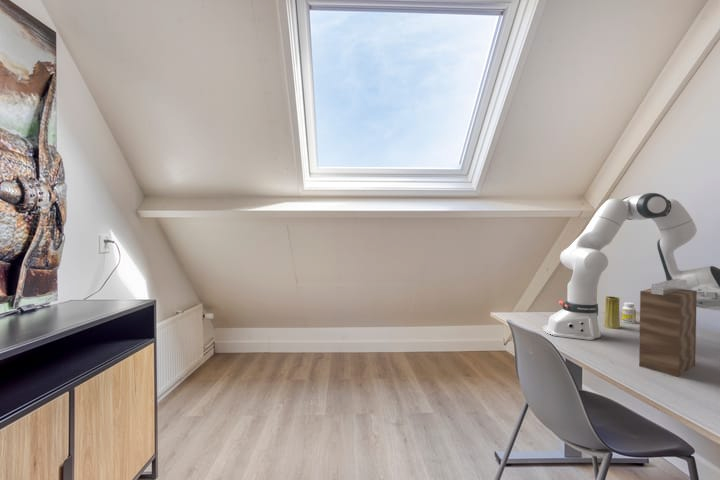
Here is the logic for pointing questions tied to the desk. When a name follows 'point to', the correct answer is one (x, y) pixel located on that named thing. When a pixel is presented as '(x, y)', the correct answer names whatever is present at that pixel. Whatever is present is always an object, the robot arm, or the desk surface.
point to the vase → (612, 313)
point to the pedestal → (668, 331)
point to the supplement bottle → (628, 313)
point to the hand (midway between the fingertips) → (686, 293)
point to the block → (668, 286)
